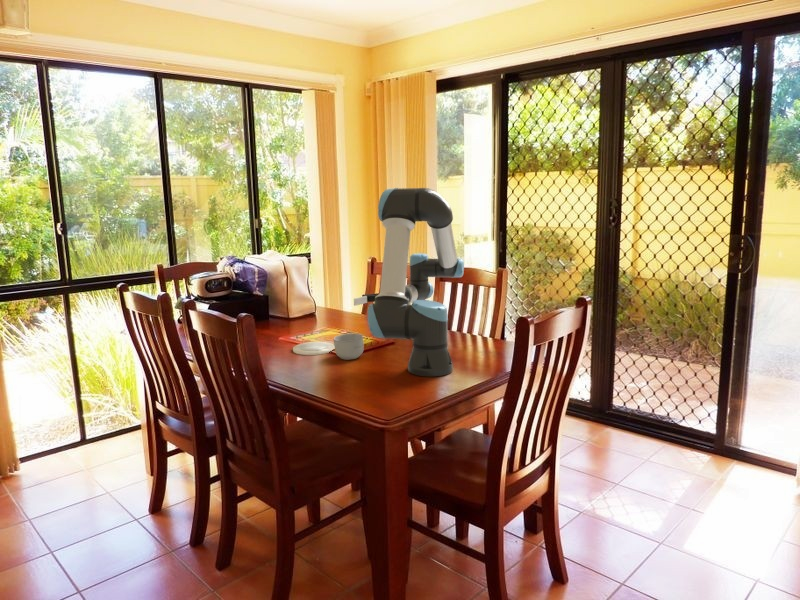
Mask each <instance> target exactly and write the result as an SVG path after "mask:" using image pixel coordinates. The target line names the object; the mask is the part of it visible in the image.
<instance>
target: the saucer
mask: <svg viewBox="0 0 800 600" xmlns="http://www.w3.org/2000/svg"><path fill="white" fill-rule="evenodd" d="M334 348H335V346H334V343H331V342H328V341H309V342H302V343H299V344H296V345H294V346H293V347H292V352H293V353H294V354H296V355H300V356H321V355H326V354H329V352H330V351H332V350H333V349H334ZM332 352H333V351H332ZM330 353H331V352H330Z"/></svg>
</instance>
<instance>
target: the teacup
mask: <svg viewBox="0 0 800 600" xmlns="http://www.w3.org/2000/svg"><path fill="white" fill-rule="evenodd" d="M333 344H334V346H335V350H334V351H335V352H334V353H335V354H336V356H337V357H339V358H340V359H341V360H347V361H349V360H355V359H357V358H358V359H359V357H360V356H361V355H362V354H363V352H364V349H365V348H364V335H363V334H361V333H355V332H354V333H353V332H348V333H342V334H338V335H336V336H334V337H333Z"/></svg>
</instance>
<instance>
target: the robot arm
mask: <svg viewBox="0 0 800 600" xmlns="http://www.w3.org/2000/svg"><path fill="white" fill-rule="evenodd" d="M378 200H379V201H378V207H377V210H378V212H377V215H378V219H379V221H380V222H381V224H382V226H383V227H384V228H385V236H384V248H383V249H384V250H383V258H382V259H383V260H382V268H381V278H380V289H379V292H378V293H368V294H367V293H366V294H362V296H359V297H354V298H353V306H354V307H355V306H359V305H366V304H367V303H370V304H369V305H368V308H367V324H368V327H369V332H370V333H371V335H372V336H373V337H374V338H377V339H378V338H379V339H385V340H388V339H393V340H394V339H396V340H397V339H398V340H412V349H411V353H410V355H409V360H408V363H407V371H408V373H410V374H412V375H415V376H420V377H428V378H429V377H432V378H433V377H442V376H445V375H449V374H451V373H452V372H453V370H454V367H453V366H454V365H453V360H452V357H451V354H450V352H449V348H448V345H449V344H448V321H449V318H448V308H447V307H446V305H445V304H443V303H441V302H438V301H436V300H435V301H434V300H428V299H429V298H431V297H432V296H433V294H434V290H435V289H434V287H433V284H432V283H431V282H430V281H429V278H452V279H454V278H462V277H463V276H464V271H465V262H464V260H463V259H461V258H458V256H457V249H456V244H455V239H454V232H453V226H452V223H453V220H454V216H453V211H452V208H451V205H450V204H449V203H448V201H447V200H446V198H444V196H443V195H441V193H439V192H437V191H435V190H434V189H431V188H428V187H417V188H416V187H413V188H411V187H410V188H405V187H404V188H402V187H401V188H399V187H394V188H387V189H385V190H384V191H382V193H381V194H380V197H379V199H378ZM416 222H426V224H427V225H428V226H429V227H430V230H431V233H432V234H431V235H432V239H433V244H434V247H435V251H436V257H437V258H429V254H427V253H423V252H420V253H419V252H418V253H412V254H411V255H410V256H409V250H410V241H411V239H410V237H411V231H413V230H414V229H415V227H416ZM408 261H409V265H408ZM408 266H409V284H406V283H407V276H408V275H407V273H408Z"/></svg>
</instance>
